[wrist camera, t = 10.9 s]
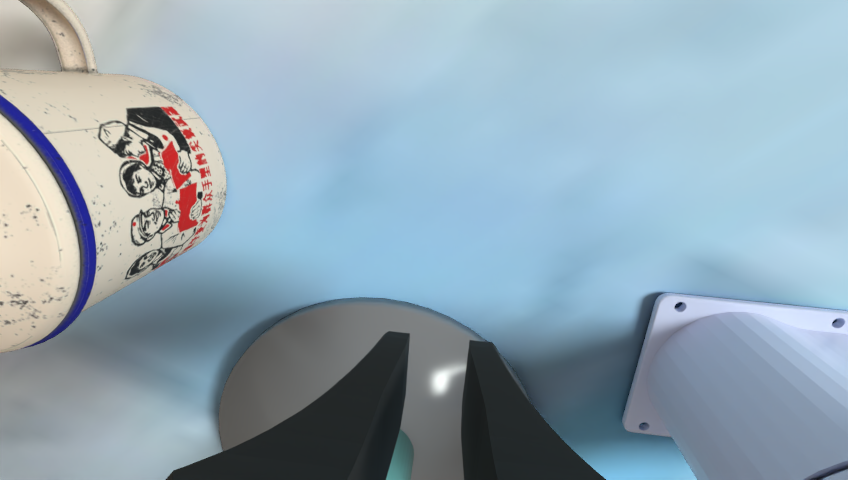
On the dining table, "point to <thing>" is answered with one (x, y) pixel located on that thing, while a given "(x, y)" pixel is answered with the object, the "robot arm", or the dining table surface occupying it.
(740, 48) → the dining table surface
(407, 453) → the pepper shaker
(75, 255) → the teacup with lid
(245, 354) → the slate plate
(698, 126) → the dining table surface
